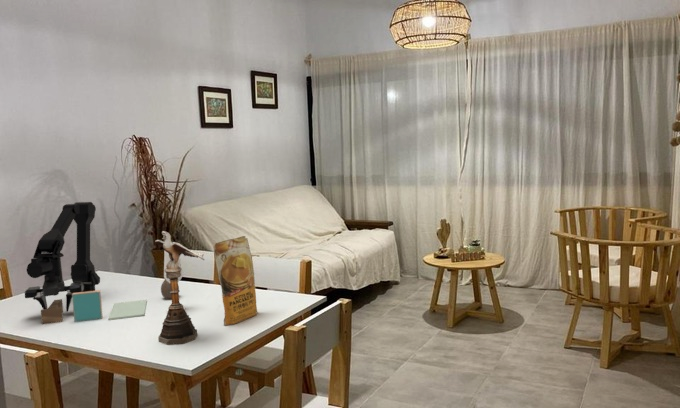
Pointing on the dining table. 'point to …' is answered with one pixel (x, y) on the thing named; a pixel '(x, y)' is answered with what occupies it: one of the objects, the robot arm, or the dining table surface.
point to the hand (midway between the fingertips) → (57, 312)
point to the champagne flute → (166, 260)
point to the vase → (166, 289)
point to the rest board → (128, 309)
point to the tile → (87, 305)
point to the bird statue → (176, 297)
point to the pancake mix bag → (236, 279)
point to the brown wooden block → (53, 313)
